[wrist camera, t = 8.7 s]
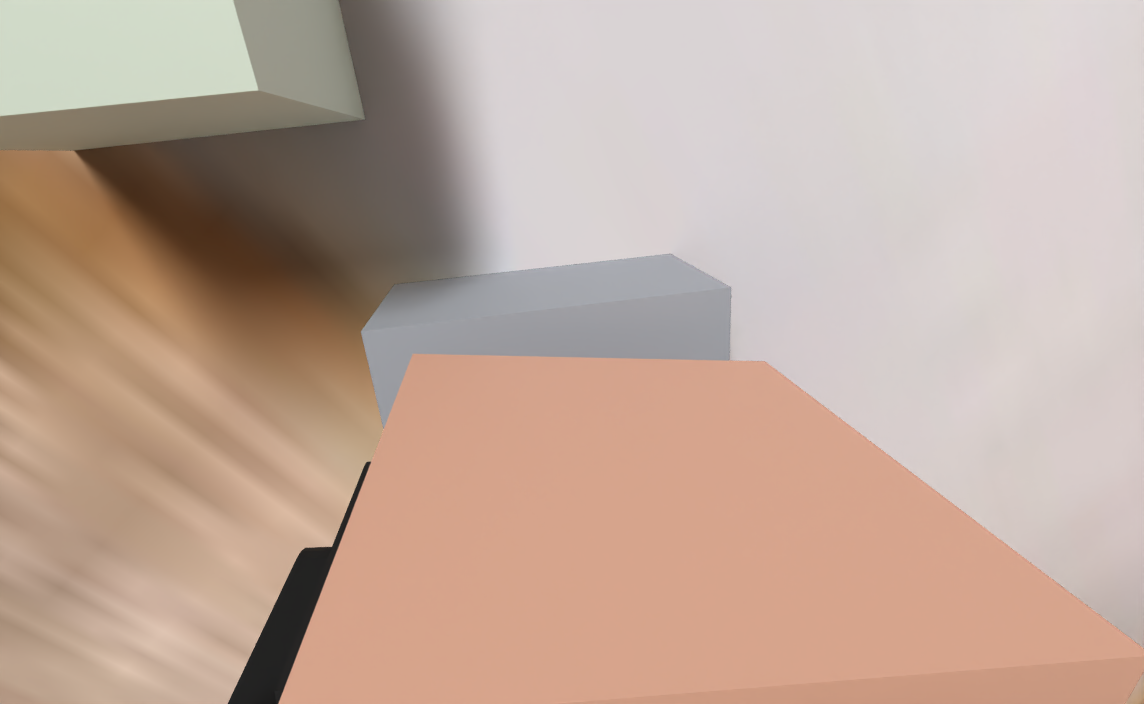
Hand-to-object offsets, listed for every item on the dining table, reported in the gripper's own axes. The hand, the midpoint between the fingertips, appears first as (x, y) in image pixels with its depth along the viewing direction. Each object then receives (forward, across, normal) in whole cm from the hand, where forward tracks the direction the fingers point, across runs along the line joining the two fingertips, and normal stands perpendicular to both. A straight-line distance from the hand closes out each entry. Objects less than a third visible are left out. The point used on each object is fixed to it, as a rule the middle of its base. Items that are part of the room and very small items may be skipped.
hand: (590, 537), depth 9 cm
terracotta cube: (+1, 0, 0) cm, 1 cm away
